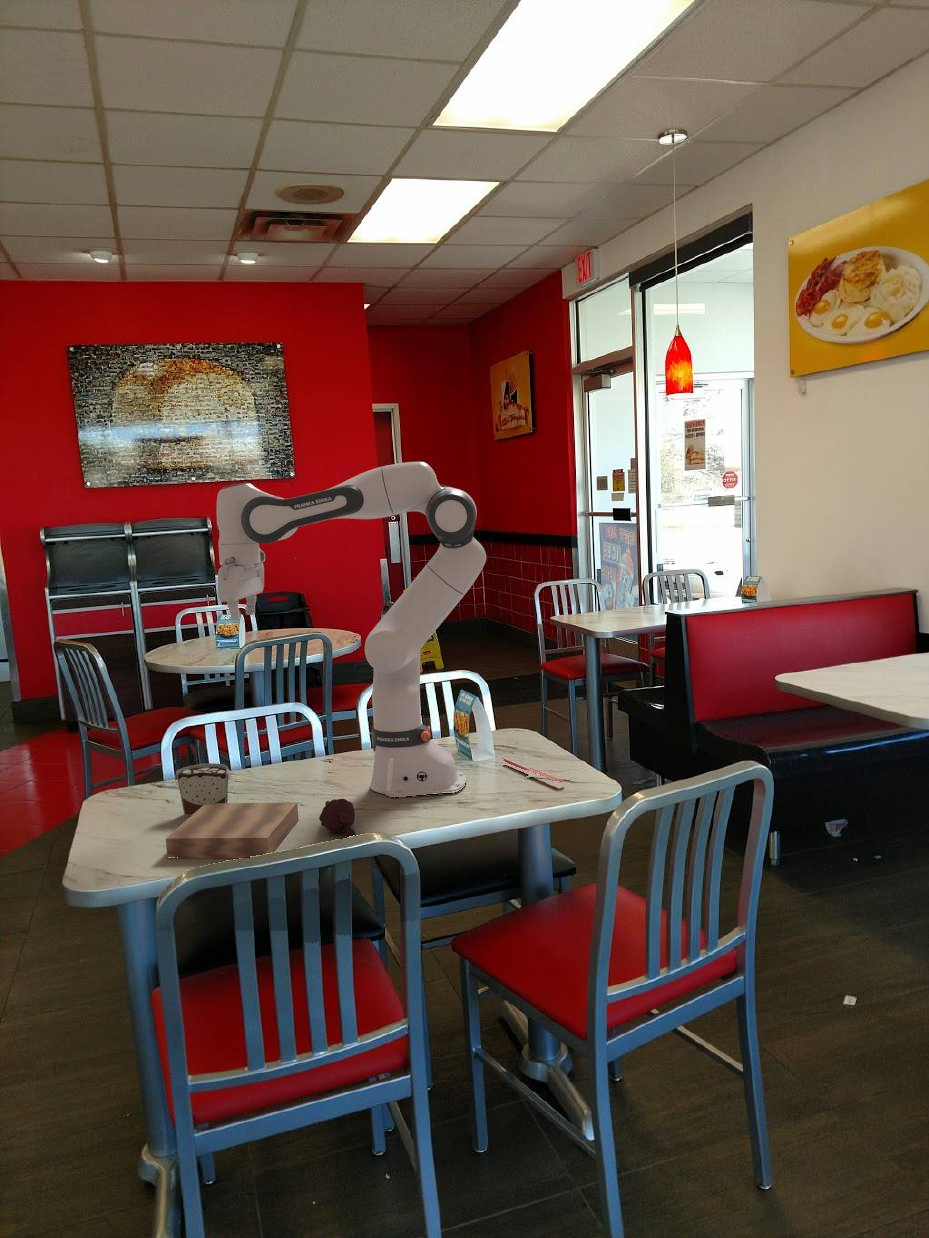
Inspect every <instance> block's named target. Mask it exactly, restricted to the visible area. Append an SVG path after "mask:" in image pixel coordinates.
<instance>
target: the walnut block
mask: <svg viewBox="0 0 929 1238" xmlns="http://www.w3.org/2000/svg"><path fill="white" fill-rule="evenodd" d="M298 807H299V806H298V802H230V803H229V802H227V803H205V804H204V805H203V806H202V807H201V808H200V809H199V810H197V811H196V812H195V813H194V814H193V815H192V816H190V817H188V818H187V819H186V820H185V821H183V822H182V823H181V825H179V826H178V827H177V828H175V830H174V831H172V832H171V833H170V834H169V835H168V836H167V837H166V838H165V847H166V857H175V858H177V857H178V858H177V859H245V858H244V857H250V856H256V855H263V854H266V853H271V852H275V851H276V850H277V849H278V848H279V846H280V845H281V844H282V843H283V841H284V840H285V838H286V837H287V836H288V835H289V834H290V832H291V831H292V830H293V828H294V827H296V825H297V823H298V822H299V809H298Z"/></svg>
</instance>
